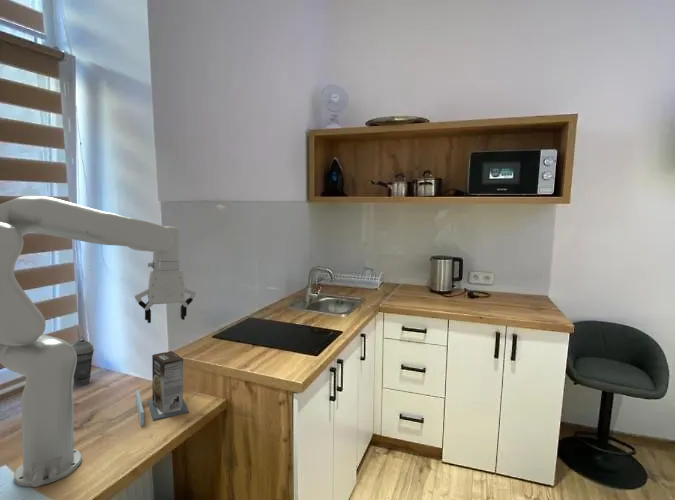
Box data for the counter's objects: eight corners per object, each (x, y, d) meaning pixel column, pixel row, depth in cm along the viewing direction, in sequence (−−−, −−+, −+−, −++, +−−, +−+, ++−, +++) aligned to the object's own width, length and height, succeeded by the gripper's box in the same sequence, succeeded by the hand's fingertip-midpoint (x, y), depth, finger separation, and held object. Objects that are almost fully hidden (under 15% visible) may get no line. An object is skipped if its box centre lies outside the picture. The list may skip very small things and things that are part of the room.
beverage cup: (85, 388, 129) (84, 332, 128) (64, 387, 129) (63, 331, 128) (98, 379, 136) (98, 326, 135) (79, 378, 137) (78, 325, 135)
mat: (188, 412, 116) (188, 410, 116) (153, 420, 111) (153, 418, 111) (180, 395, 127) (180, 393, 127) (148, 401, 122) (148, 400, 122)
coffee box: (151, 403, 119) (151, 354, 118) (171, 397, 124) (172, 350, 123) (162, 414, 113) (162, 362, 112) (183, 407, 118) (183, 357, 117)
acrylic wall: (143, 425, 108) (143, 412, 108) (140, 426, 108) (140, 412, 107) (138, 401, 121) (138, 389, 121) (135, 402, 121) (135, 390, 121)
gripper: (135, 268, 107) (135, 326, 109) (198, 266, 117) (197, 320, 118) (133, 265, 114) (133, 320, 115) (193, 264, 123) (192, 315, 124)
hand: (166, 320), depth 116 cm, fingers open, 9 cm apart
